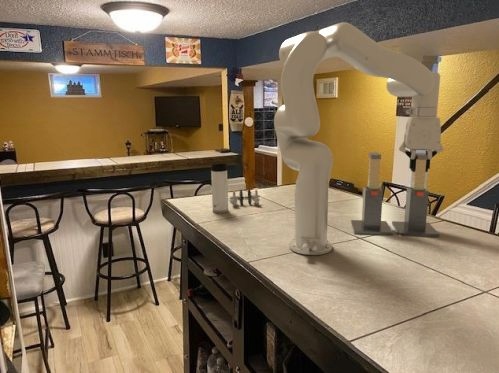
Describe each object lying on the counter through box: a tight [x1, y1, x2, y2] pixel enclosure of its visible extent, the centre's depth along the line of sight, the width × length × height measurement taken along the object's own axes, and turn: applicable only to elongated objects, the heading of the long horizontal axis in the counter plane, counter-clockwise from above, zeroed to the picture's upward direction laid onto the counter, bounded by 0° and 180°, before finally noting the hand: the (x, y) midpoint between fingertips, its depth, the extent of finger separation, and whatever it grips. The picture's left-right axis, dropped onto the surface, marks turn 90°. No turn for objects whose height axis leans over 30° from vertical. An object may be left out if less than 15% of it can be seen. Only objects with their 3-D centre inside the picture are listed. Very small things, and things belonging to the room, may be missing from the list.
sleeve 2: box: [391, 186, 440, 238], centre depth 126 cm, size 12×12×14 cm
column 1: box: [367, 151, 382, 190], centre depth 126 cm, size 6×3×19 cm, turn 171°
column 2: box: [411, 152, 428, 191], centre depth 124 cm, size 6×3×19 cm, turn 171°
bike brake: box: [228, 189, 261, 207], centre depth 168 cm, size 14×7×20 cm
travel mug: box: [210, 162, 229, 214], centre depth 151 cm, size 6×7×20 cm
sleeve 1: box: [350, 186, 394, 236], centre depth 128 cm, size 12×12×14 cm
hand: (419, 170), depth 123 cm, fingers closed on column 2, 3 cm apart
